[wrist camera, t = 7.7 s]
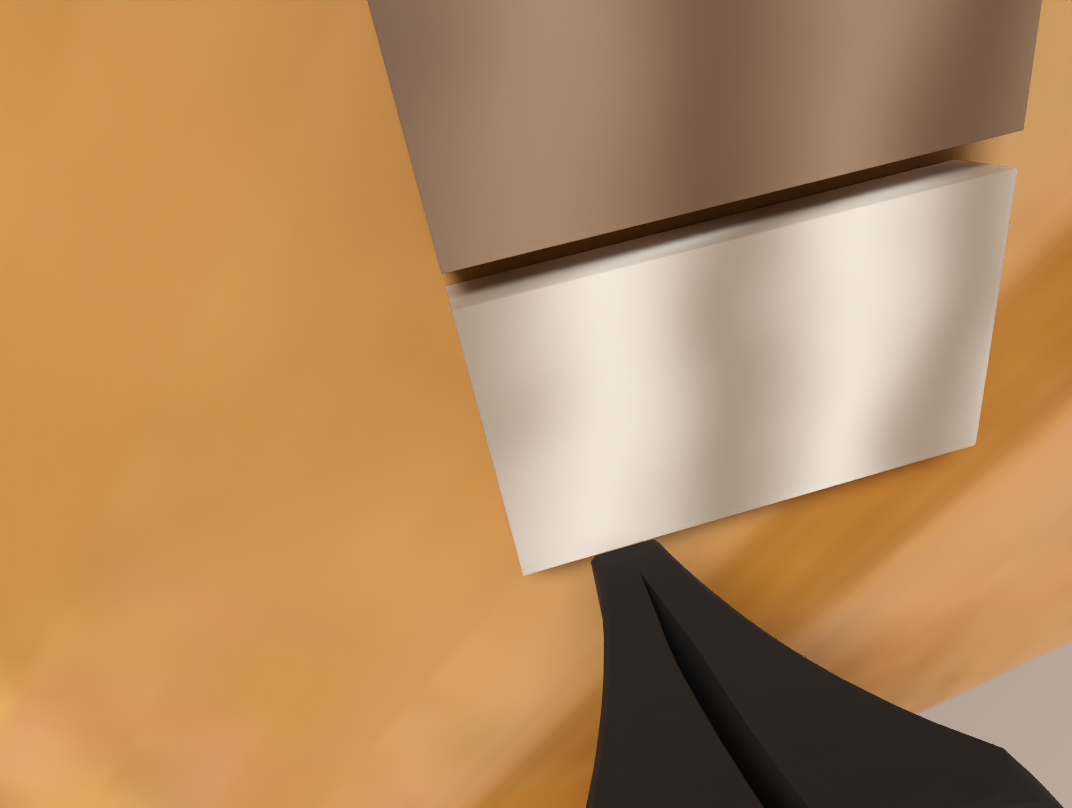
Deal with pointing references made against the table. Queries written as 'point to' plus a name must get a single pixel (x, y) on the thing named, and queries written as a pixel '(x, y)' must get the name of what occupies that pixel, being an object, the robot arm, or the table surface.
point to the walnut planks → (678, 103)
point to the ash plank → (736, 358)
